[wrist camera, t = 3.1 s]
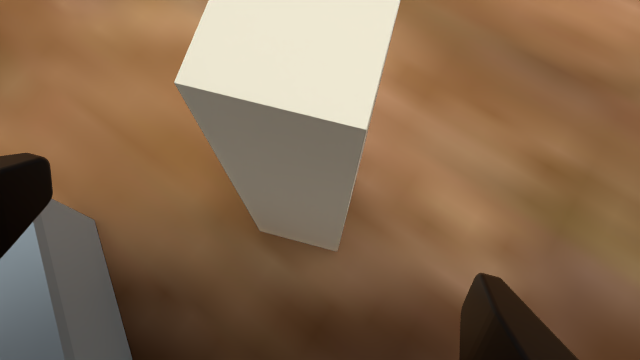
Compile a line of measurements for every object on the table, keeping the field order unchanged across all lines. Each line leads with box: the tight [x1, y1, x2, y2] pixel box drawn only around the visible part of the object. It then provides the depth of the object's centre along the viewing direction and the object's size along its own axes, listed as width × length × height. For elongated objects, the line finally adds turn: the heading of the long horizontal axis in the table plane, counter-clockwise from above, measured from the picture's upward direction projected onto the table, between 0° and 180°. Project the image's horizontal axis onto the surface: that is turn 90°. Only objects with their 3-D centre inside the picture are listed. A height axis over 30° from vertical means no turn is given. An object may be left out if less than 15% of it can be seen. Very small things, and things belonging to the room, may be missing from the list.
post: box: [174, 0, 400, 252], centre depth 14 cm, size 4×4×12 cm
